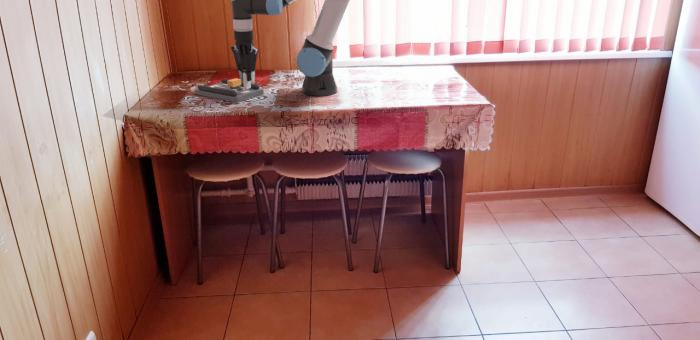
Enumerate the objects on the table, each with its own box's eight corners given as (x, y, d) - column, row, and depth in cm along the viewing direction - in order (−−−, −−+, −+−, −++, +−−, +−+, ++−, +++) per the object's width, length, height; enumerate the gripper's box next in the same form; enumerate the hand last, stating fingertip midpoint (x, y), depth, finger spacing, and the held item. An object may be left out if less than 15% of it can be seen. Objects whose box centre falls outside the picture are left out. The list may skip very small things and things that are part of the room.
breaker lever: (241, 89, 218) (240, 79, 216) (233, 92, 214) (232, 81, 213) (236, 88, 220) (235, 78, 218) (228, 91, 216) (227, 80, 214)
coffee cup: (253, 87, 230) (251, 60, 226) (235, 86, 232) (233, 59, 227) (260, 82, 238) (258, 56, 233) (242, 82, 240) (240, 56, 235)
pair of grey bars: (259, 88, 220) (259, 84, 219) (233, 96, 207) (233, 92, 207) (223, 82, 230) (223, 78, 229) (196, 89, 218) (196, 85, 217)
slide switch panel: (263, 93, 220) (263, 86, 219) (237, 102, 207) (237, 94, 206) (222, 86, 231) (221, 79, 230) (195, 94, 219) (194, 86, 218)
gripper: (262, 30, 203) (265, 88, 213) (237, 27, 210) (241, 84, 219) (249, 32, 197) (253, 92, 207) (224, 29, 204) (229, 88, 213)
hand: (247, 88), depth 213 cm, fingers closed
